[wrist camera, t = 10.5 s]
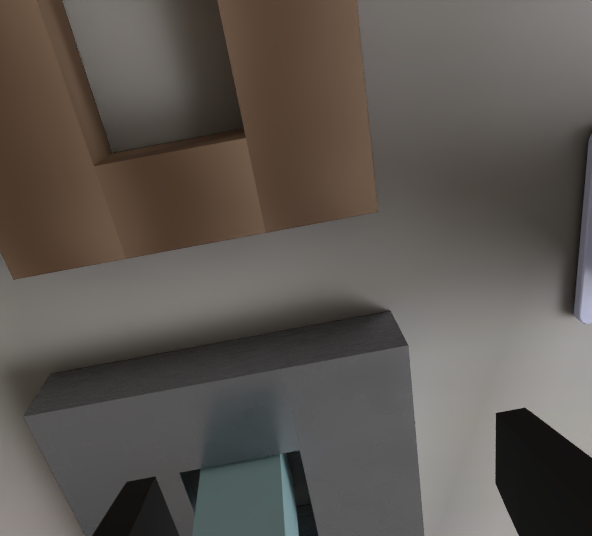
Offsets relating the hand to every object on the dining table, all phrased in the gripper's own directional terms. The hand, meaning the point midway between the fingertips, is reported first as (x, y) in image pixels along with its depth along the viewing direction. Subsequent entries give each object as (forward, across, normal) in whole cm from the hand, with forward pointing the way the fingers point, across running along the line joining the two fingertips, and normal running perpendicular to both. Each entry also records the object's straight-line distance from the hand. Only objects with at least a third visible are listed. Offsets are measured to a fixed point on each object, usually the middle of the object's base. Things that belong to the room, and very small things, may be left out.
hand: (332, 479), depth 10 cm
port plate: (+9, +4, +9) cm, 13 cm away
